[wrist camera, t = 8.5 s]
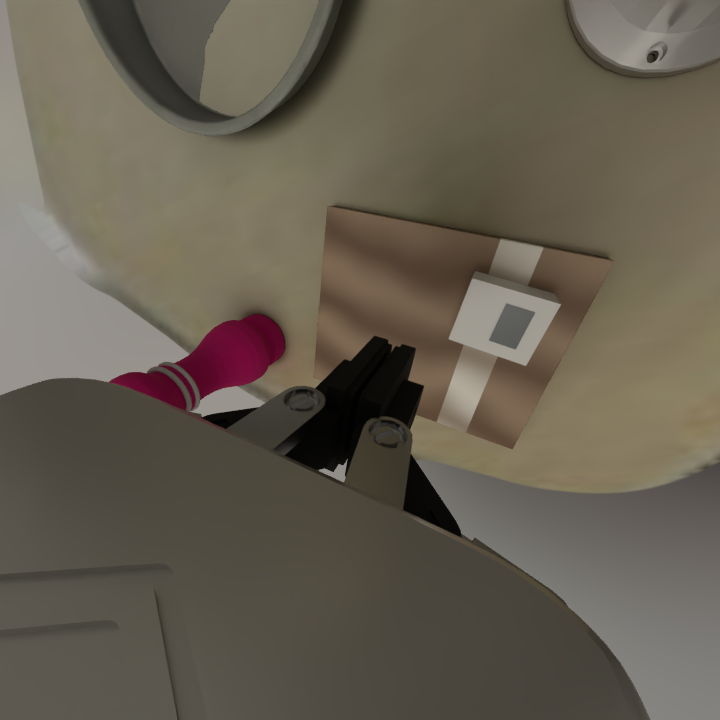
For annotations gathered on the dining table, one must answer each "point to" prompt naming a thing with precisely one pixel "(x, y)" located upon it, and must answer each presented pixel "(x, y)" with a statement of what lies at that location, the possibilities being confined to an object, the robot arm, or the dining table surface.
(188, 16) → the cake pan
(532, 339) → the block
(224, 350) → the pepper mill
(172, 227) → the dining table surface
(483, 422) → the brown flat board
